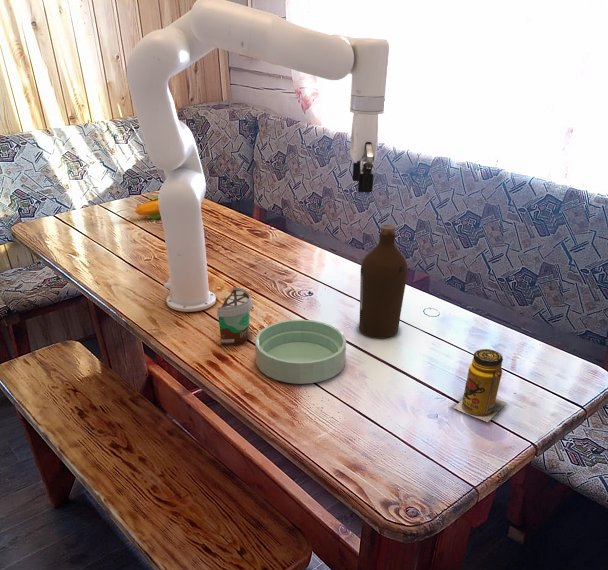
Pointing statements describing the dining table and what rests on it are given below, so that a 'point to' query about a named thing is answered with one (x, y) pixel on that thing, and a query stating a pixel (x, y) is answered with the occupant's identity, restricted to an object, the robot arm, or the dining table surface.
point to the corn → (149, 209)
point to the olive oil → (382, 287)
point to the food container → (235, 317)
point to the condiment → (482, 386)
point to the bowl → (300, 351)
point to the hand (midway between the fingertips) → (361, 186)
